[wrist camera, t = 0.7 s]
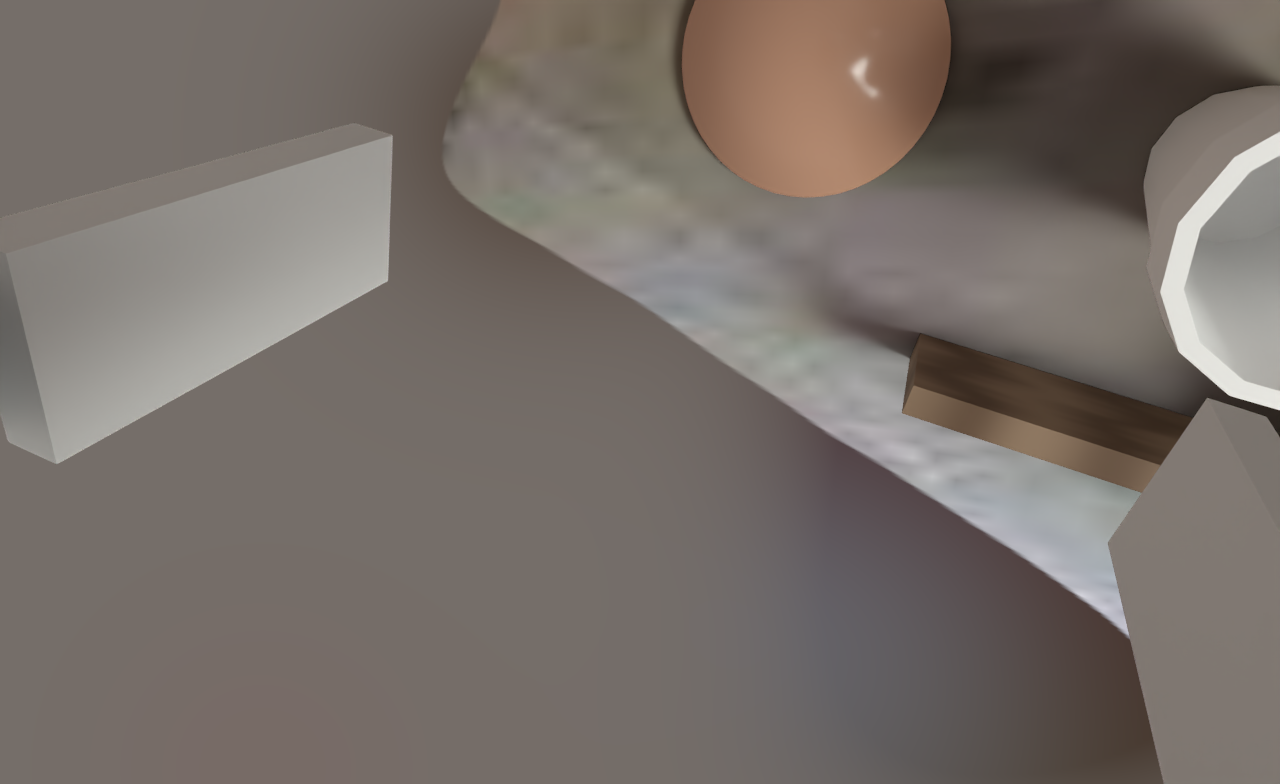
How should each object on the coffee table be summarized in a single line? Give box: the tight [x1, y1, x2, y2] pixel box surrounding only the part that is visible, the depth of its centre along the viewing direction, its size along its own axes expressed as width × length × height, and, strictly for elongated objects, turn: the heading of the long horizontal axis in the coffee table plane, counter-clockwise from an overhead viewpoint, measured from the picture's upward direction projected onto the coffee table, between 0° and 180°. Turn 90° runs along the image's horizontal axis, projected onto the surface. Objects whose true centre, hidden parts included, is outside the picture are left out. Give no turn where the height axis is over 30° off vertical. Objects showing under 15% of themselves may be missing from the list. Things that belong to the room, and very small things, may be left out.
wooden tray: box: [902, 333, 1280, 493], centre depth 31 cm, size 18×25×6 cm
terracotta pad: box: [682, 0, 951, 197], centre depth 37 cm, size 12×12×1 cm
